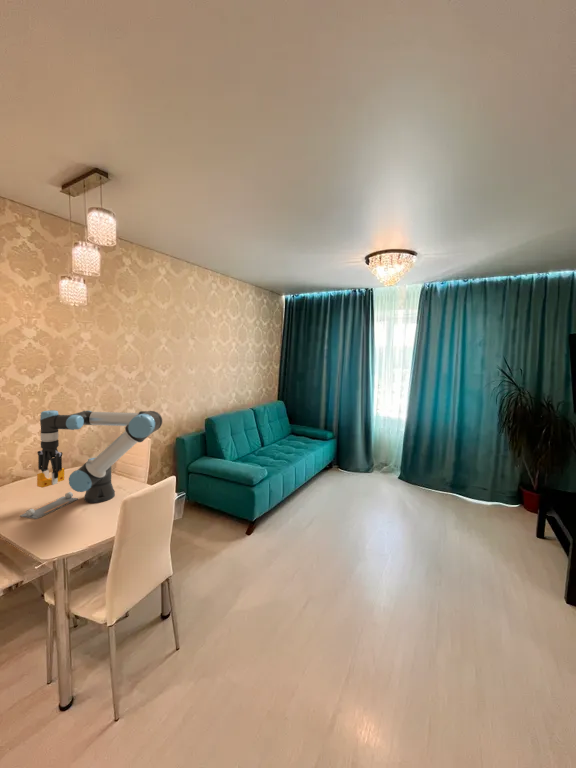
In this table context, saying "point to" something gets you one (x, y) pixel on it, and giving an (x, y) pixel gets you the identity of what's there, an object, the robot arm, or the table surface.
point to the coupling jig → (49, 507)
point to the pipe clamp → (45, 482)
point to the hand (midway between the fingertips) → (50, 483)
